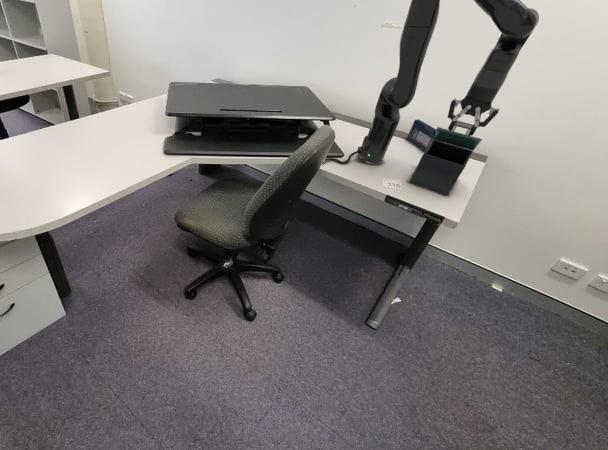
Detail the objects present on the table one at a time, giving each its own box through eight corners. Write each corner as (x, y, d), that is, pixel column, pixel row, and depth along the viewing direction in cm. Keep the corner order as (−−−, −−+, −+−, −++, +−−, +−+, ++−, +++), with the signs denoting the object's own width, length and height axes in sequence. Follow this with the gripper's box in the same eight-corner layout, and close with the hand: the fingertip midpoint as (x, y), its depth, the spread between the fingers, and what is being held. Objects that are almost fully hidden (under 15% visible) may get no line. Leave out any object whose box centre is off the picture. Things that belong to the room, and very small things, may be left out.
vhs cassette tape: (405, 139, 158) (414, 119, 152) (411, 138, 159) (420, 119, 152) (431, 158, 145) (442, 137, 138) (437, 157, 145) (448, 136, 139)
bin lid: (480, 141, 109) (489, 127, 108) (436, 129, 116) (444, 115, 115) (473, 150, 123) (480, 138, 122) (434, 139, 130) (440, 127, 129)
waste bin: (446, 196, 123) (465, 166, 114) (408, 182, 129) (423, 153, 121) (455, 179, 132) (473, 150, 123) (419, 167, 138) (434, 139, 130)
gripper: (459, 81, 105) (434, 130, 117) (513, 92, 98) (481, 143, 110) (464, 76, 110) (439, 124, 121) (515, 86, 103) (484, 136, 114)
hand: (459, 133), depth 115 cm, fingers closed on bin lid, 5 cm apart
